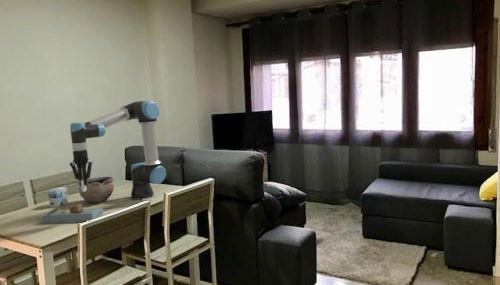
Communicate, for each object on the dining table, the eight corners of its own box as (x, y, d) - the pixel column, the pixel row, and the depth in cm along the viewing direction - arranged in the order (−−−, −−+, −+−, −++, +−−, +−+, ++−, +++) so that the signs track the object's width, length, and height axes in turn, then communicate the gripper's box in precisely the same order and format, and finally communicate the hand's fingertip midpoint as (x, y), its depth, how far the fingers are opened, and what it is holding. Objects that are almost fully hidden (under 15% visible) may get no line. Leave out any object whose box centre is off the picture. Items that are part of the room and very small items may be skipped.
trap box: (104, 212, 250) (103, 205, 249) (92, 221, 234) (91, 213, 234) (56, 214, 252) (56, 207, 251) (42, 223, 236) (41, 215, 235)
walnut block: (82, 212, 243) (82, 203, 242) (78, 214, 238) (78, 206, 237) (74, 212, 243) (73, 204, 242) (70, 215, 238) (69, 206, 238)
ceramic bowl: (81, 207, 265) (79, 184, 263) (78, 200, 284) (76, 179, 282) (117, 201, 275) (115, 179, 273) (112, 195, 294) (110, 174, 292)
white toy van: (58, 207, 270) (56, 190, 269) (49, 207, 272) (47, 191, 270) (68, 202, 281) (67, 187, 279) (59, 202, 282) (58, 187, 281)
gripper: (94, 148, 238) (98, 189, 241) (71, 149, 239) (76, 190, 241) (88, 150, 230) (92, 192, 233) (65, 151, 231) (69, 193, 234)
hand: (84, 191), depth 237 cm, fingers closed
